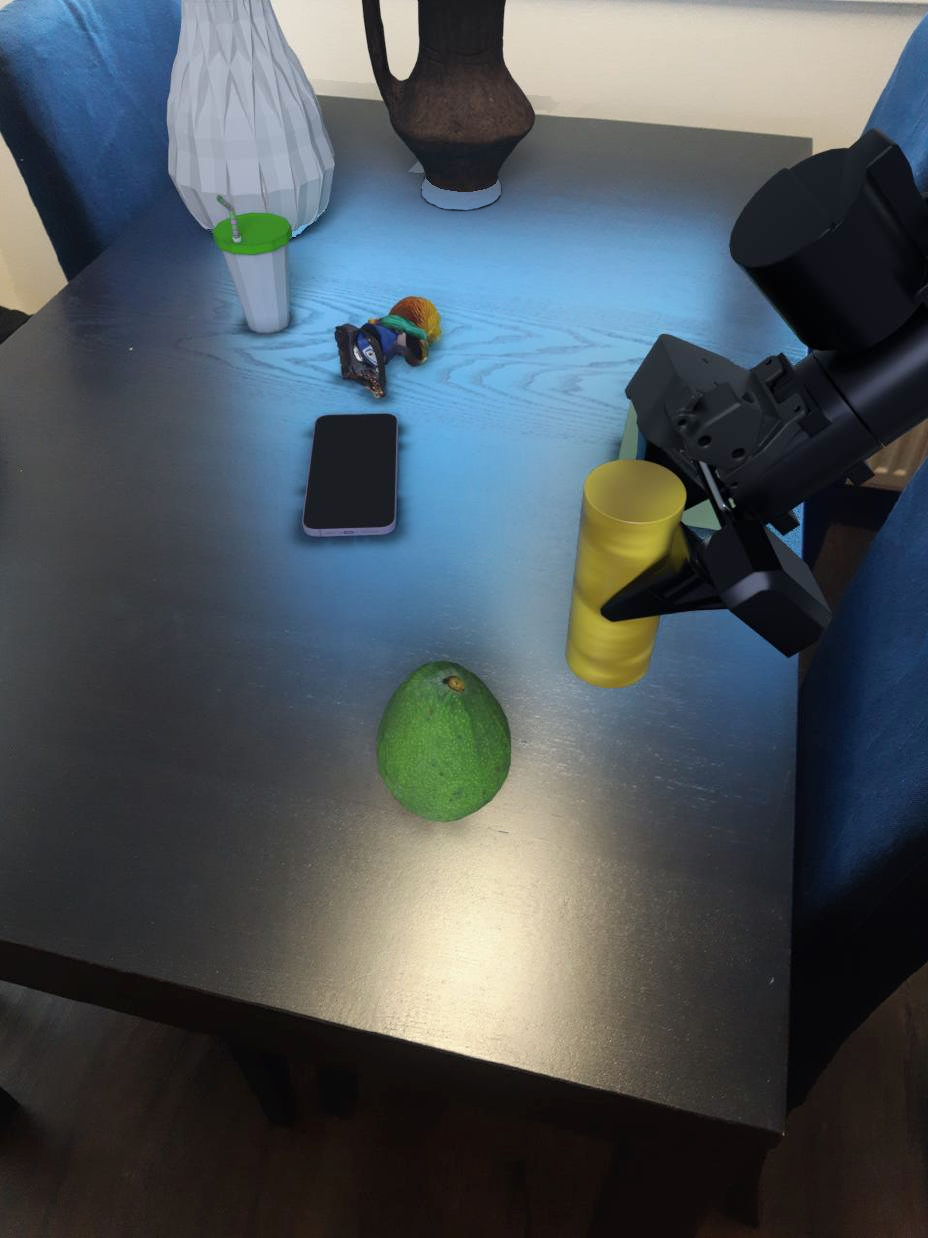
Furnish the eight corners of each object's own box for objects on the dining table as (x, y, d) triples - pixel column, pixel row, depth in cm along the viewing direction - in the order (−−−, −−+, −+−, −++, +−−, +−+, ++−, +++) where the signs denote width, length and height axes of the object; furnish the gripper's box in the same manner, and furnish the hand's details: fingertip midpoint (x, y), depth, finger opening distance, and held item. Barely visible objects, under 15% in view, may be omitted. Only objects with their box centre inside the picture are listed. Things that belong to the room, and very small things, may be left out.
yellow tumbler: (652, 631, 56) (688, 464, 46) (646, 695, 52) (684, 529, 43) (570, 619, 56) (589, 453, 47) (559, 681, 53) (577, 515, 44)
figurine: (422, 334, 94) (418, 278, 90) (465, 364, 90) (464, 307, 86) (331, 371, 90) (323, 314, 85) (373, 404, 86) (366, 345, 81)
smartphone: (299, 530, 71) (314, 414, 82) (301, 541, 72) (316, 425, 83) (396, 527, 72) (398, 412, 82) (397, 538, 72) (399, 423, 83)
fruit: (426, 874, 52) (417, 758, 43) (359, 779, 56) (339, 656, 48) (533, 807, 55) (544, 686, 46) (461, 722, 59) (460, 597, 51)
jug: (530, 168, 126) (543, -101, 104) (532, 223, 113) (546, -70, 91) (383, 167, 127) (365, -100, 105) (368, 221, 114) (344, -69, 92)
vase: (210, 193, 120) (152, -85, 98) (355, 198, 119) (329, -83, 97) (162, 260, 107) (82, -46, 85) (325, 266, 105) (287, -43, 83)
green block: (735, 460, 79) (748, 412, 75) (731, 532, 72) (745, 484, 69) (623, 444, 81) (631, 397, 77) (609, 513, 74) (616, 465, 70)
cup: (283, 298, 100) (260, 158, 89) (318, 326, 96) (298, 182, 85) (220, 319, 97) (188, 176, 86) (253, 349, 93) (223, 202, 82)
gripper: (700, 202, 44) (479, 405, 51) (839, 416, 31) (518, 644, 39) (811, 339, 50) (598, 502, 58) (965, 564, 37) (667, 736, 45)
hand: (595, 580), depth 50 cm, fingers closed on yellow tumbler, 5 cm apart
